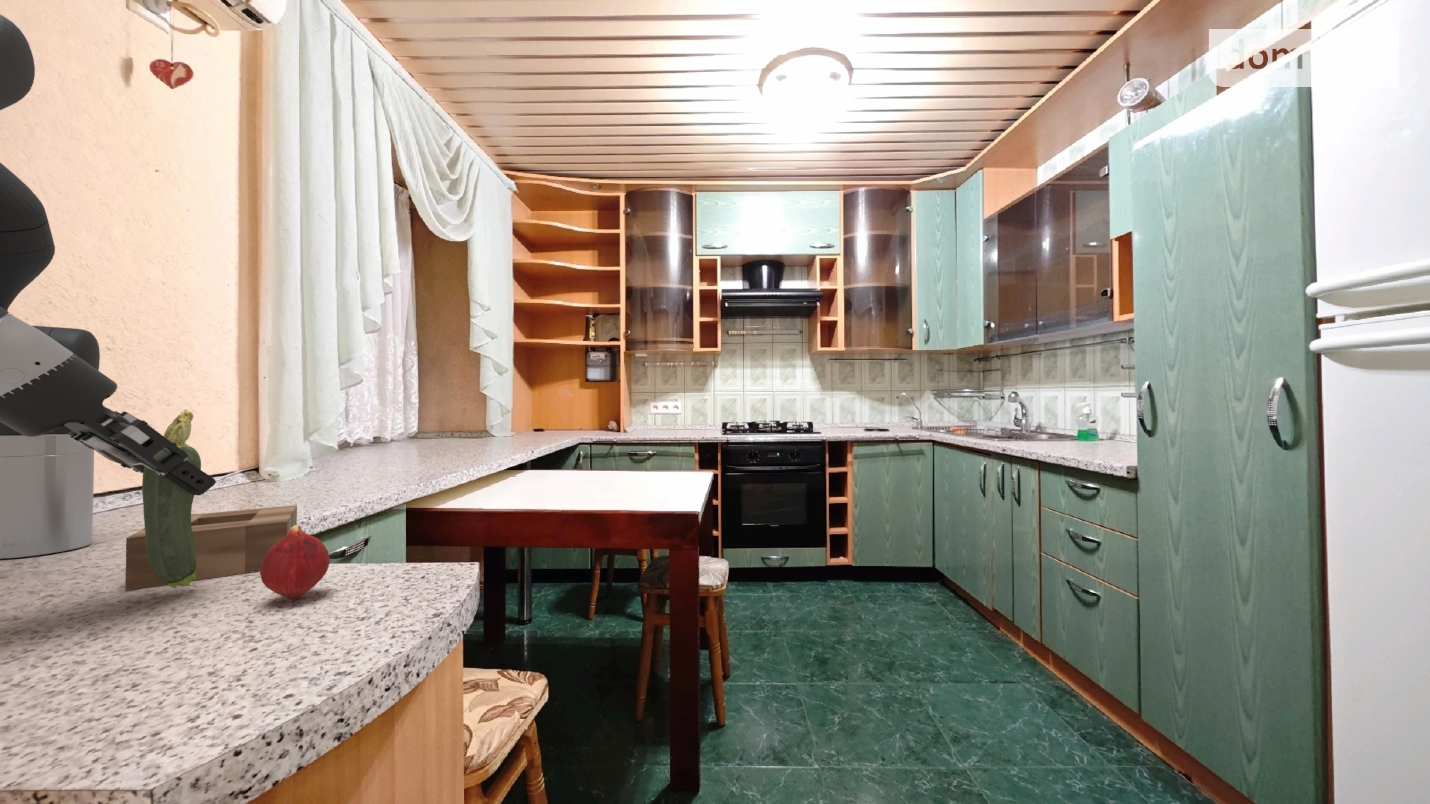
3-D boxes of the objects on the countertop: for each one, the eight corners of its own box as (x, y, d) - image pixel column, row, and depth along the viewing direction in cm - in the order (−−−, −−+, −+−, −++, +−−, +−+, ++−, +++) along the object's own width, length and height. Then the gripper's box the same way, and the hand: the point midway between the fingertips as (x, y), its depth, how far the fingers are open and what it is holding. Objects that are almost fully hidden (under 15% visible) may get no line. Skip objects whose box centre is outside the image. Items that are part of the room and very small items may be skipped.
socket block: (163, 560, 68) (164, 516, 68) (296, 543, 76) (296, 505, 76) (125, 590, 56) (126, 538, 56) (286, 567, 65) (287, 521, 65)
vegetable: (156, 598, 52) (163, 410, 52) (126, 594, 53) (133, 409, 53) (207, 584, 56) (213, 410, 56) (178, 580, 57) (185, 408, 57)
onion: (340, 594, 55) (341, 522, 55) (277, 613, 50) (278, 534, 50) (311, 586, 58) (312, 518, 58) (248, 603, 52) (249, 528, 52)
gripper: (93, 346, 45) (258, 465, 56) (45, 353, 51) (202, 459, 62) (-11, 403, 40) (192, 521, 51) (-50, 403, 46) (138, 508, 57)
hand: (196, 486), depth 56 cm, fingers closed on vegetable, 4 cm apart
